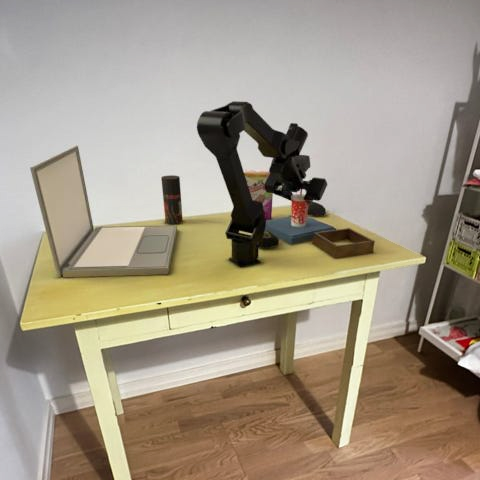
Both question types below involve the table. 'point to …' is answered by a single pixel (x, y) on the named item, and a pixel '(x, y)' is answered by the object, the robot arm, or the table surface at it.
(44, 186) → the laptop
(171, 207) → the deodorant
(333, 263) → the table surface
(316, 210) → the gaming mouse
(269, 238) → the tape measure
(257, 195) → the candy bar box
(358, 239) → the open box
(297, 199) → the beverage cup
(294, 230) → the blue square platform
